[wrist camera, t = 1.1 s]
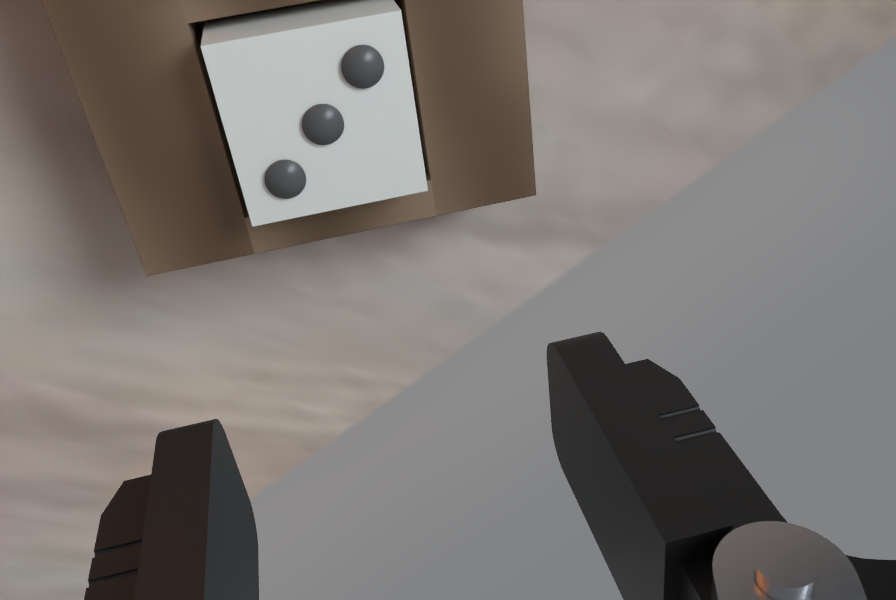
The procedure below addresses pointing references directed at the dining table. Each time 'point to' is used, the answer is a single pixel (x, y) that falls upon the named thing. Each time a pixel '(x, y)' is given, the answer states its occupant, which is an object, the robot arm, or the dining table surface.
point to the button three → (316, 106)
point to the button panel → (206, 146)
